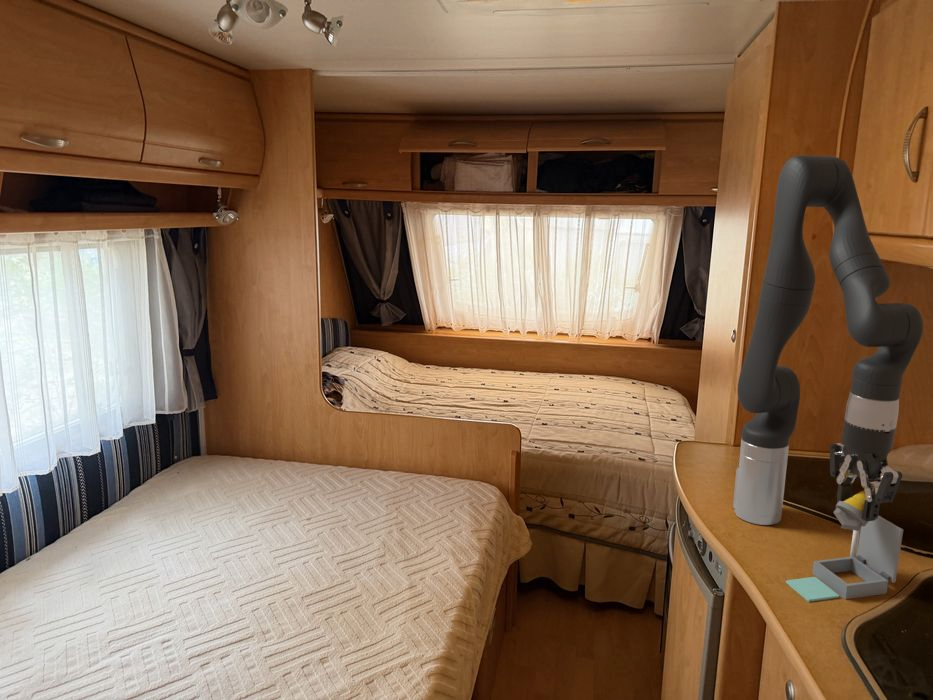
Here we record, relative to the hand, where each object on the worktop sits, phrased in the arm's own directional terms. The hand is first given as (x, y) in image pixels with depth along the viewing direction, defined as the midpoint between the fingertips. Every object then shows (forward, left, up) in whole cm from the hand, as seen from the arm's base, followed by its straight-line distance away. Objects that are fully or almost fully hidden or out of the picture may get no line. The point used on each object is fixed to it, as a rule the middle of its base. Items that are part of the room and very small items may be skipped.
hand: (856, 511), depth 115 cm
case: (-1, +1, -14) cm, 14 cm away
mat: (+1, -8, -14) cm, 16 cm away
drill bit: (-1, 0, -3) cm, 3 cm away
